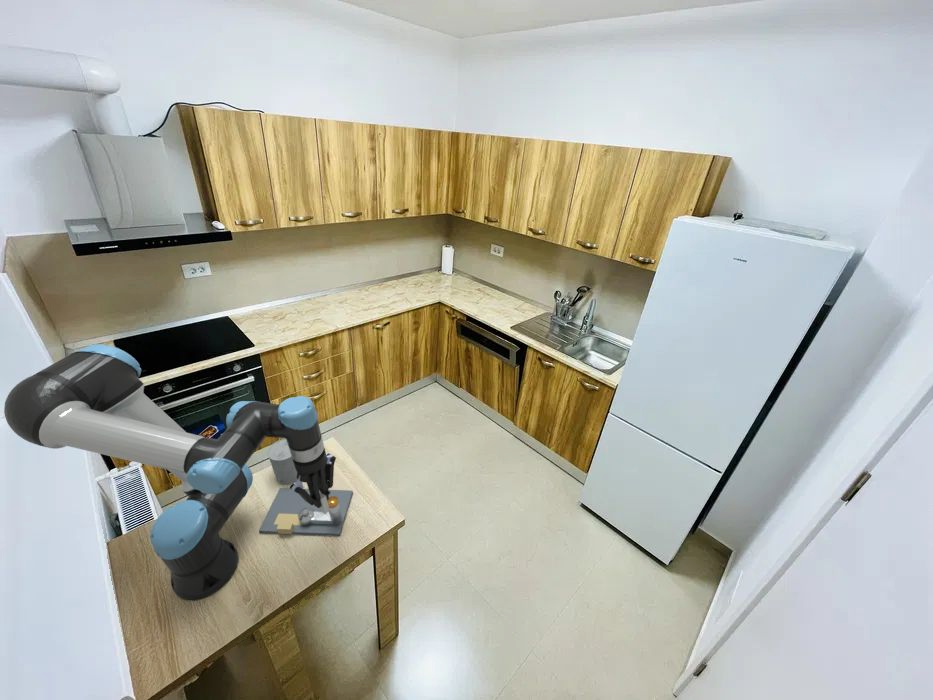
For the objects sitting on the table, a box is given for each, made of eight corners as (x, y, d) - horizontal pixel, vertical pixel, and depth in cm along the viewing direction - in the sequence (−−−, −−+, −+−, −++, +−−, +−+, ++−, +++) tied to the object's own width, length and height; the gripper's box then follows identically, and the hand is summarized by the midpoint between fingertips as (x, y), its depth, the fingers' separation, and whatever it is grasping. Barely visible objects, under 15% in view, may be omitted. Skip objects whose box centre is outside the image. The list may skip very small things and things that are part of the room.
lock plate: (258, 535, 110) (254, 524, 107) (280, 490, 123) (277, 479, 120) (339, 537, 111) (337, 527, 108) (352, 492, 124) (351, 482, 121)
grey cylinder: (270, 475, 128) (261, 450, 121) (294, 458, 135) (288, 434, 128) (286, 489, 124) (278, 465, 117) (311, 471, 130) (304, 447, 124)
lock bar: (297, 525, 112) (290, 506, 106) (302, 512, 115) (296, 493, 110) (340, 527, 112) (335, 508, 107) (344, 514, 116) (340, 494, 111)
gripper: (296, 477, 84) (314, 535, 97) (339, 441, 94) (350, 498, 106) (274, 463, 87) (295, 521, 100) (318, 429, 97) (332, 486, 109)
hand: (324, 509), depth 103 cm, fingers closed
